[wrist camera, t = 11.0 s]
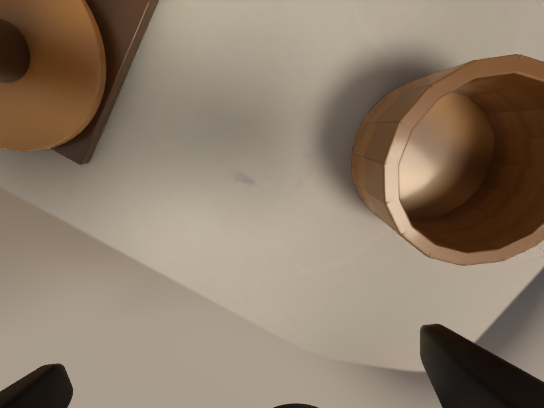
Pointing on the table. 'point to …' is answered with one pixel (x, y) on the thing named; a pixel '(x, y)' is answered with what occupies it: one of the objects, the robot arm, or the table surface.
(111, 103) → the board
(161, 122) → the table surface
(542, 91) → the wooden bowl
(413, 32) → the table surface
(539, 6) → the table surface
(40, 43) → the lid
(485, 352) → the robot arm
